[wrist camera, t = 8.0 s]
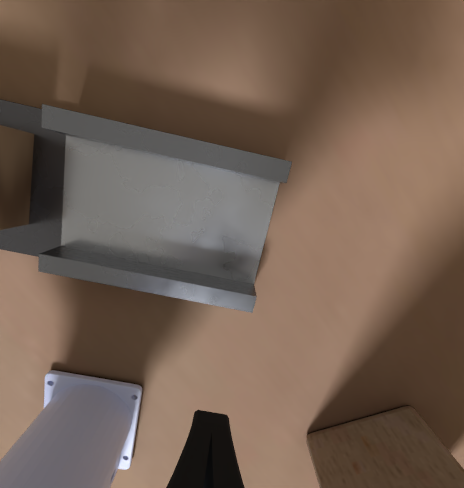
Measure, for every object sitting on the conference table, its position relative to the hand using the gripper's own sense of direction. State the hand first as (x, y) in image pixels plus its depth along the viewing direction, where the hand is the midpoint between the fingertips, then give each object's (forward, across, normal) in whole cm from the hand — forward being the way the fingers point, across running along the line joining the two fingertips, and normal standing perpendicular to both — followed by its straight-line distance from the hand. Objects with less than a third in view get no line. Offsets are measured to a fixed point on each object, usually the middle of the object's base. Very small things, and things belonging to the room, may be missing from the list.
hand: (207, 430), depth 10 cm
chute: (+9, +10, -7) cm, 15 cm away
